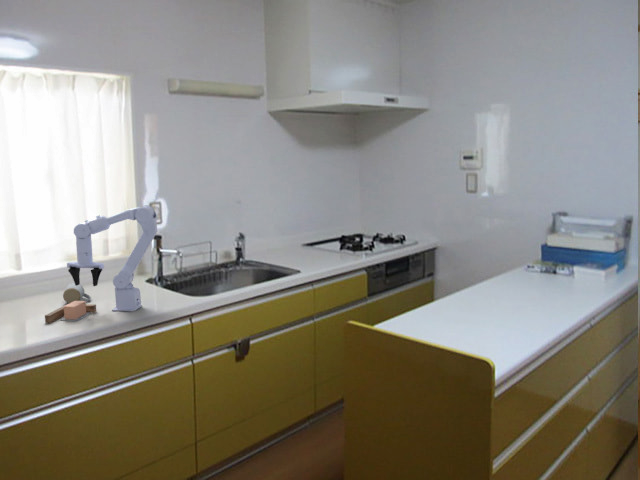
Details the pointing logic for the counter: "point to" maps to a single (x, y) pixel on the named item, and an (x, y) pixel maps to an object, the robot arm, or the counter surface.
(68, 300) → the ceramic mug
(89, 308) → the brown l-shaped piece
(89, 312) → the mat
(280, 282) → the counter surface
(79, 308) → the block
